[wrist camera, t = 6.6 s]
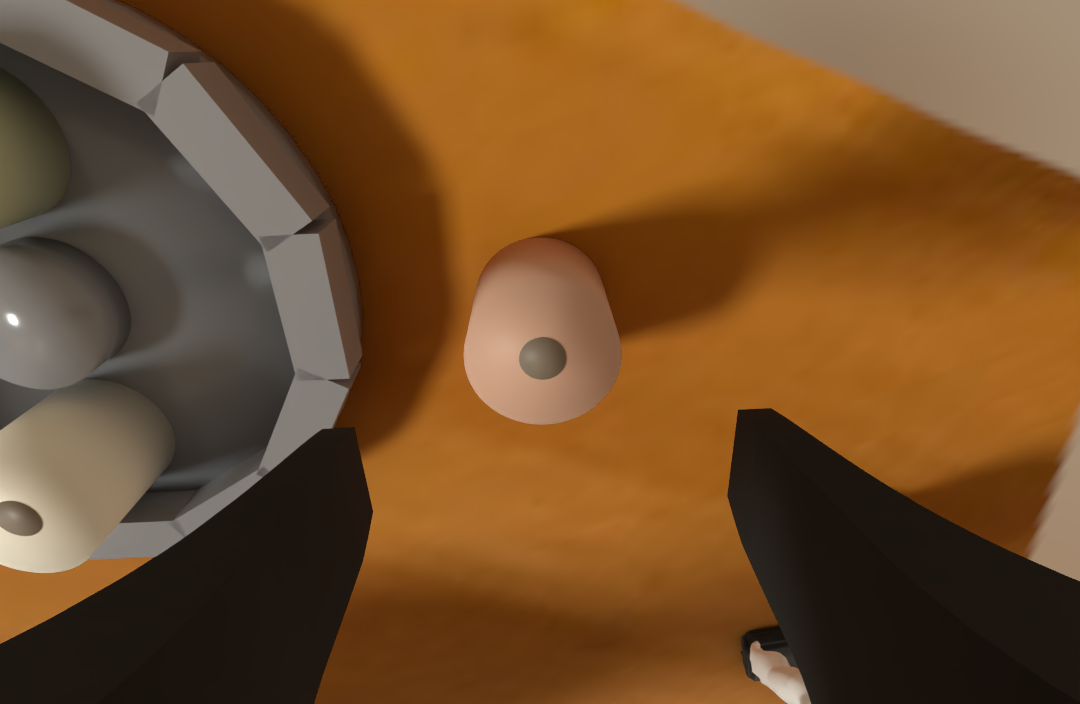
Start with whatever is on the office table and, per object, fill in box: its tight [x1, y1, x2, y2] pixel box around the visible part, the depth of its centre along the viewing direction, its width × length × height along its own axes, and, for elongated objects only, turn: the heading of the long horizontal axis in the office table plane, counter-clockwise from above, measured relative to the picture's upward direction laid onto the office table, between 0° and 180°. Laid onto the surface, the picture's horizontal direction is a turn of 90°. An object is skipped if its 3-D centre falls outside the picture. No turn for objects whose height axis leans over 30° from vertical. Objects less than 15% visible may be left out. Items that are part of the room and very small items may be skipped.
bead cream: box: [0, 379, 176, 573], centre depth 18 cm, size 4×4×4 cm
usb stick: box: [741, 627, 798, 681], centre depth 26 cm, size 10×3×2 cm, turn 101°
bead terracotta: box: [464, 237, 621, 424], centre depth 17 cm, size 4×4×4 cm
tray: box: [0, 0, 363, 560], centre depth 17 cm, size 17×17×2 cm
